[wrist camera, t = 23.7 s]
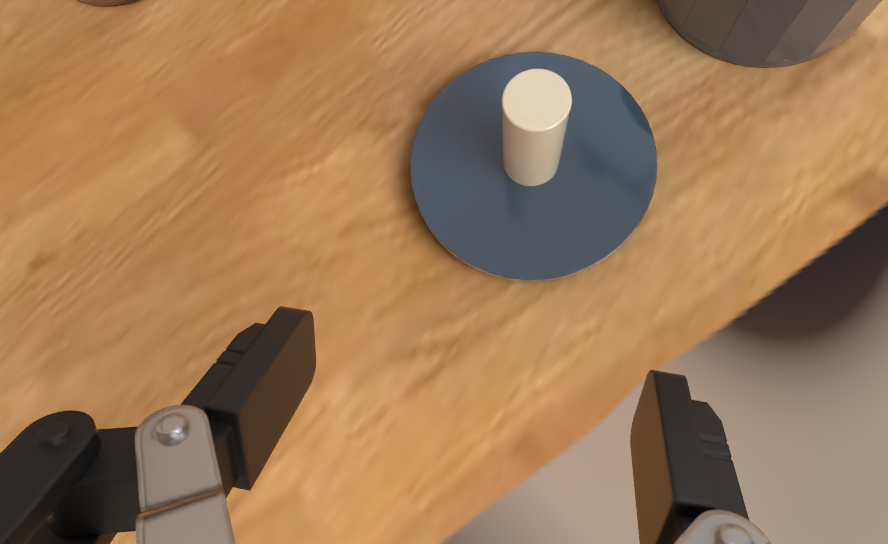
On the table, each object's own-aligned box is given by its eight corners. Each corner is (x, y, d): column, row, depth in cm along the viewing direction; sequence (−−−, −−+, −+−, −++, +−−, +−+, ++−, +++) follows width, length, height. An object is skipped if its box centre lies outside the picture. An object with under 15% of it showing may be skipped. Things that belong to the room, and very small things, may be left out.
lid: (376, 126, 32) (341, 47, 25) (578, 28, 33) (597, -77, 26) (476, 327, 29) (466, 299, 22) (698, 217, 29) (757, 156, 22)
